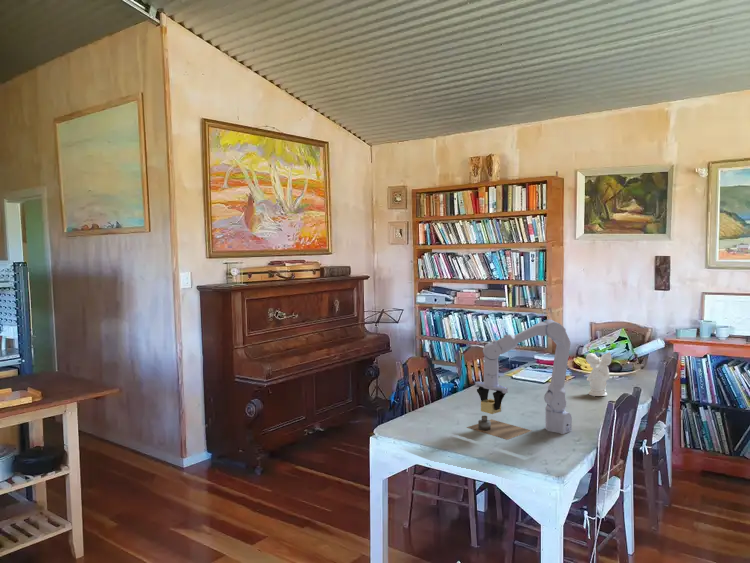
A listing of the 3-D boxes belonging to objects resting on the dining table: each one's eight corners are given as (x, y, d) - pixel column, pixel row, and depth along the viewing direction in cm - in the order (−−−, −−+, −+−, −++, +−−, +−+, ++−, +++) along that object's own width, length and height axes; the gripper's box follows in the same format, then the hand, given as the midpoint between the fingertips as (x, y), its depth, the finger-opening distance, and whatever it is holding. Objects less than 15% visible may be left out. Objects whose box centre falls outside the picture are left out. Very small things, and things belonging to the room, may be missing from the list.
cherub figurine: (582, 394, 282) (583, 350, 280) (595, 389, 290) (595, 347, 289) (606, 398, 273) (607, 353, 271) (618, 394, 281) (619, 349, 280)
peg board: (532, 433, 224) (532, 418, 224) (507, 442, 214) (507, 426, 213) (491, 421, 239) (491, 407, 239) (466, 429, 229) (466, 415, 229)
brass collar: (501, 411, 225) (501, 401, 225) (492, 414, 222) (492, 404, 222) (489, 408, 230) (489, 398, 230) (480, 411, 226) (480, 401, 226)
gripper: (470, 372, 228) (470, 405, 229) (499, 378, 217) (499, 413, 218) (481, 369, 232) (481, 402, 233) (511, 375, 221) (510, 410, 222)
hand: (490, 407), depth 226 cm, fingers closed on brass collar, 6 cm apart
